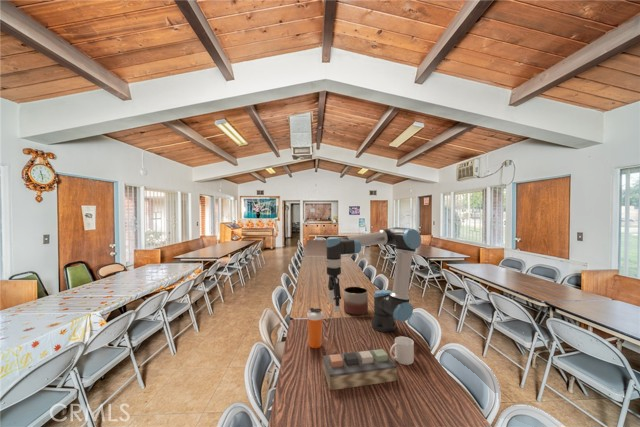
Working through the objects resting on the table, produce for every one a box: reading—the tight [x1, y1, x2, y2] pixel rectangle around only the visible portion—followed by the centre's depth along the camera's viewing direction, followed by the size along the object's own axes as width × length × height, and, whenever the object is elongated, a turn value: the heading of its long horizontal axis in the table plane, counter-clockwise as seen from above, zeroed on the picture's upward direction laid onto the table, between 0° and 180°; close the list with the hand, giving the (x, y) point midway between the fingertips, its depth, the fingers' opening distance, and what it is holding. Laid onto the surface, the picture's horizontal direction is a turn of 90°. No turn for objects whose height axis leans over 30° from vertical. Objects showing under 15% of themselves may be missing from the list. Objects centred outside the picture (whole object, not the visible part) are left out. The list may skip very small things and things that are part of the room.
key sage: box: [372, 348, 389, 362], centre depth 115 cm, size 5×5×4 cm
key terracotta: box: [328, 353, 343, 368], centre depth 111 cm, size 5×5×4 cm
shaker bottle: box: [306, 307, 324, 349], centre depth 139 cm, size 9×9×20 cm
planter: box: [343, 286, 369, 316], centre depth 186 cm, size 18×18×16 cm
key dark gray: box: [344, 351, 358, 366], centre depth 112 cm, size 5×5×4 cm
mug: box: [389, 335, 415, 366], centre depth 125 cm, size 12×9×9 cm
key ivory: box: [358, 350, 373, 364], centre depth 114 cm, size 5×5×4 cm
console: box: [322, 348, 398, 391], centre depth 113 cm, size 30×14×6 cm, turn 101°
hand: (334, 306), depth 131 cm, fingers open, 13 cm apart
